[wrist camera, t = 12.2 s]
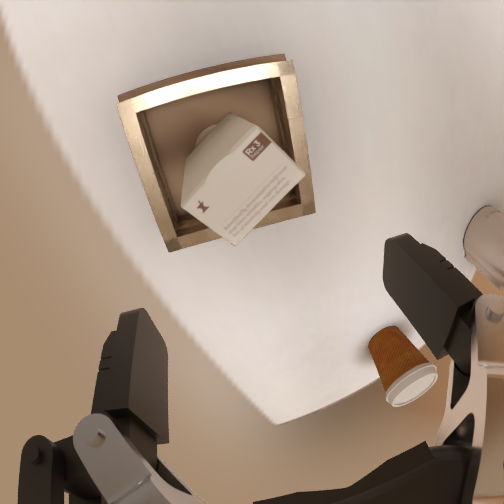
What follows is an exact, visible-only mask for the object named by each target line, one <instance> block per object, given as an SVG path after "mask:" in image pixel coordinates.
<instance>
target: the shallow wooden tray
mask: <svg viewBox="0 0 504 504" xmlns="http://www.w3.org/2000/svg"><path fill="white" fill-rule="evenodd" d="M261 79H268V84H269V89H270V94H271V99H272V104H273V109H274V114H275V119H276V124H277V130H278V135H279V141H280V146H281V149H282V150H283V151H284V152H285V153H286V154H287V155H288V156H289V157H290V158H291V159H292V160H293V161H294V162H295V163H296V164H297V165H298V166H299V167H300V168H301V169H302V170H303V171H304V172H305V176H304V177H303V178H302V179H301V180H300V181H299V182H298V183H297V184H296V185H295V186H294V187H293V188H292V189H291V190H290V191H289V192H288V193H287V194H286V195H285V196H284V197H283V198H282V199H281V200H280V201H279V202H278V203H277V204H276V205H275V206H274V207H273V208H272V209H271V210H270V211H269V212H268V214H267V215H266V216H265V217H264V218H263V219H262V220H261V221H260V222H259V223H258V224H257V225H256V226H255V227H254V228H253V229H255V228H259V227H263V226H266V225H270V224H274V223H278V222H282V221H285V220H289V219H293V218H297V217H301V216H304V215H308V214H312V213H316V212H315V203H314V194H313V186H312V178H311V170H310V163H309V156H308V149H307V142H306V135H305V129H304V122H303V116H302V110H301V104H300V99H299V93H298V88H297V82H296V77H295V72H294V67H293V62H292V60H287V61H280V62H273V63H266V64H260V65H254V66H248V67H243V68H238V69H233V70H228V71H224V72H219V73H215V74H210V75H206V76H202V77H198V78H195V79H191V80H187V81H184V82H180V83H177V84H173V85H170V86H167V87H163V88H160V89H157V90H154V91H151V92H148V93H145V94H142V95H139V96H137V97H134V98H131V99H128V100H126V101H123V102H120V103H118V104H117V107H118V111H119V114H120V117H121V121H122V124H123V127H124V130H125V134H126V137H127V140H128V143H129V146H130V149H131V152H132V155H133V158H134V161H135V164H136V167H137V170H138V173H139V176H140V178H141V181H142V184H143V187H144V190H145V192H146V195H147V198H148V200H149V203H150V206H151V208H152V211H153V214H154V216H155V219H156V222H157V224H158V227H159V229H160V232H161V234H162V237H163V239H164V242H165V244H166V247H167V249H168V252H172V251H176V250H179V249H183V248H186V247H190V246H194V245H197V244H201V243H204V242H208V241H211V240H215V239H219V238H222V237H221V236H220V235H219V234H217V233H216V232H214V231H213V230H212V229H210V228H209V227H208V226H206V225H205V224H204V223H202V222H201V221H199V220H198V219H197V218H195V217H194V216H193V215H191V214H190V213H189V214H186V215H182V216H178V213H177V210H176V207H175V204H174V201H173V198H172V195H171V192H170V189H169V186H168V183H167V180H166V177H165V174H164V171H163V168H162V165H161V162H160V159H159V156H158V152H157V149H156V146H155V143H154V140H153V136H152V133H151V130H150V126H149V123H148V119H147V116H146V113H145V109H148V108H151V107H154V106H157V105H160V104H163V103H167V102H170V101H173V100H176V99H180V98H183V97H187V96H190V95H194V94H198V93H202V92H205V91H209V90H213V89H218V88H222V87H226V86H231V85H235V84H240V83H245V82H250V81H256V80H261Z"/></svg>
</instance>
